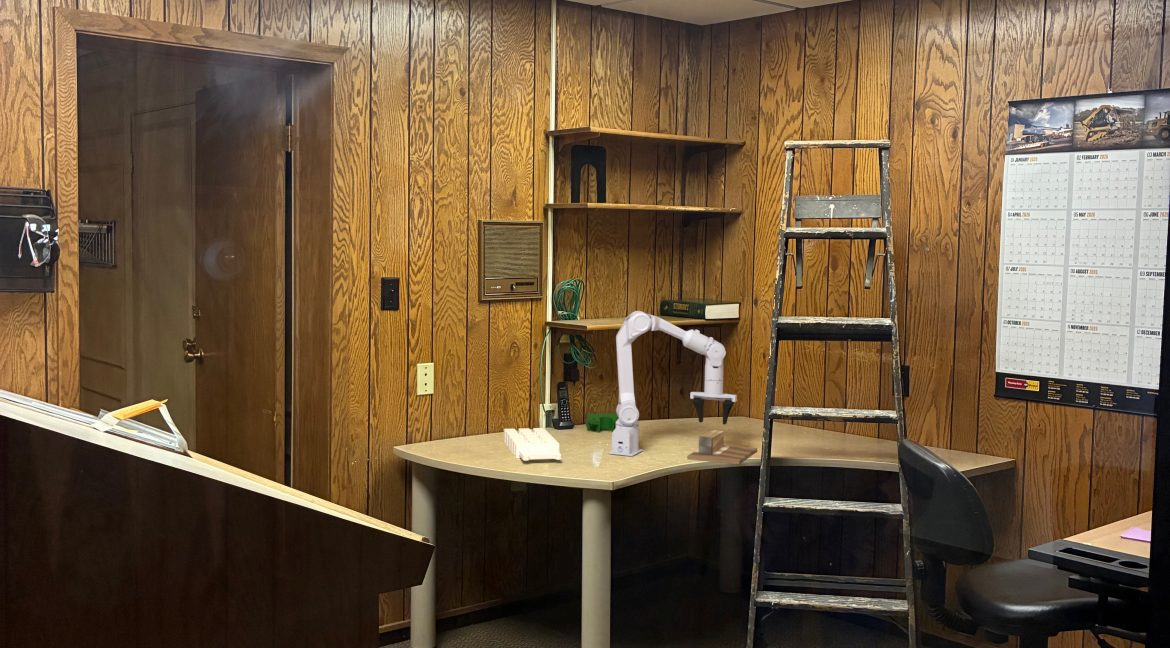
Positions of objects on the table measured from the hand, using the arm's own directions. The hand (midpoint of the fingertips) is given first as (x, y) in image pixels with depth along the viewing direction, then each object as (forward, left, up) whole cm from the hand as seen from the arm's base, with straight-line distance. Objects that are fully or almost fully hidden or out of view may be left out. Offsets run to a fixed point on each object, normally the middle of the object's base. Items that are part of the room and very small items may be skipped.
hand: (712, 423), depth 319 cm
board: (-2, -4, -9) cm, 10 cm away
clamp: (+19, +44, -10) cm, 49 cm away
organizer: (-26, +50, -10) cm, 57 cm away
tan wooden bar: (0, 0, -8) cm, 8 cm away
